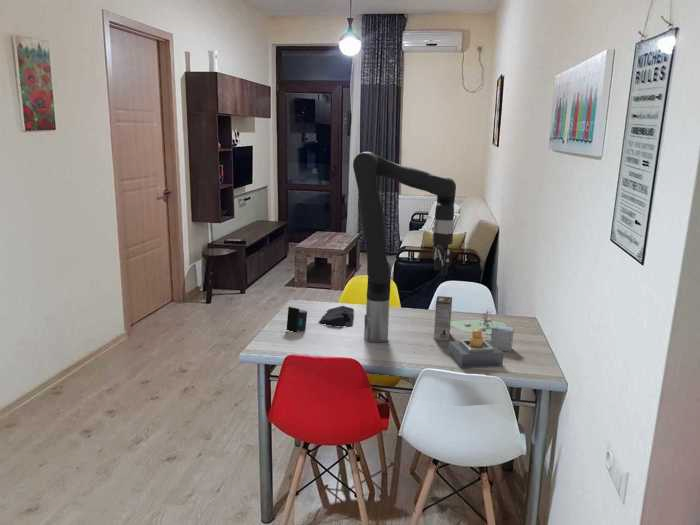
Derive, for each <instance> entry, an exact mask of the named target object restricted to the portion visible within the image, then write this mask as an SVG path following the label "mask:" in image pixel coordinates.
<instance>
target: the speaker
mask: <svg viewBox="0 0 700 525" xmlns="http://www.w3.org/2000/svg"><path fill="white" fill-rule="evenodd" d="M307 317H308V310H305V309H304V310H303V309H300V308H298V307H292V306H288V307H287V319H286V330H289V331H293V332H292V333H294V332H297V333H298V332H305V331H306V328H307V319H308V318H307ZM289 331H288V332H289Z"/></svg>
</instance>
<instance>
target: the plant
mask: <svg viewBox="0 0 700 525" xmlns="http://www.w3.org/2000/svg"><path fill="white" fill-rule="evenodd" d="M486 310H487V311H486V312H484V313H483V314H482V315H481V317H482V319H483V320H484V321H480V320H481V319H464V320H451V323H450V324H451V325H452V326H451V325H450V326H451V327H453V328H455V329H456V330H457V329H458V330H461V329H462V331H466V332H471V333H473V329H480V330H482V333H488V334H491V333H492V328H493V326H494V325H498V326H504V327H508V326H507V324H505V322H500V321H497V320H492V319H491V318H490V316H491V315H492V312H493V310H491V311H489V309H486Z"/></svg>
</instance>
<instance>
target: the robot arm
mask: <svg viewBox="0 0 700 525" xmlns="http://www.w3.org/2000/svg"><path fill="white" fill-rule="evenodd" d="M352 163H353V164H352V168H353V172H354V173H353V174H354V175H355V176H354V178H355V181H356V182H355V183H356V186H357V191H358V205H359V215H360V216H359V218H360V224H361V225H360V226H361V231H362V236H363V240H364V244H365V249H366V262H367V264H366V268H367V269H366V274H367V287H366V288H367V289H366V304H365V305H366V308H365V309H366V310H365V315H364V332H363V337H364V339H365V340H366V342H367V343H369V342H371V343H384V342H386V341H388V338H389V323H390V322H389V319H390V297H391V279H392V267H391V264H390V262H389V261H388V258H387V252H386V219H385V210H384V207H383V202H382V200H381V197H380V195H379V194H380V193H379V191H378V184H377V177H382V178H387V179H391V180H392V181H396V182H397V183H400V184H402V185H404V186H407V187H410V188H413V189H417V190H419V191H424V192H428V193H430V194H433V195H434V196H436V206H435V208H434V209H435V210H434V211H435V212H434V222H433V232H432V242H433V246H432V259H433V260H434V265H433V266H434V267H433V268H434V270H435V271H439V270H441V275H442V276H448V274H449V272H448V270H449V266H451V265H452V248H451V249H449V246H450V245H452V244H453V243H454V242H453V240H454V228H455V227H454V226H455V225H454V224H455V222H454V220H455V219H454V218H455V200H456V199H455V198H456V190H457V185H456V182H455V181H454V180H453V178H450V177H441V176H437V175H433V174H432V173H430V172H427V171H424V170H421V169H418V168H414V167H411V166H406V165H402V164H398V163H396V162H392V161H390V160H387V159H385V158H383V157H381V156H379V155H376V153H373V152H371V151H363V152H360V153H358V154H357V155H356V156H355V157H354V159H353V162H352Z"/></svg>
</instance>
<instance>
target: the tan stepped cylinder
mask: <svg viewBox="0 0 700 525" xmlns="http://www.w3.org/2000/svg"><path fill="white" fill-rule="evenodd" d="M471 333H472V334H471V335H470V338H469V340H470V348H483V339H484V336H483V334H482V330H480V329H473V332H471Z"/></svg>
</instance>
